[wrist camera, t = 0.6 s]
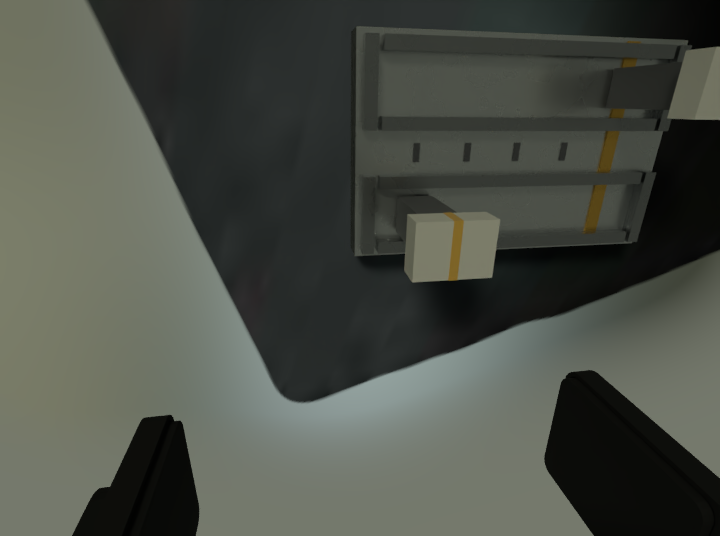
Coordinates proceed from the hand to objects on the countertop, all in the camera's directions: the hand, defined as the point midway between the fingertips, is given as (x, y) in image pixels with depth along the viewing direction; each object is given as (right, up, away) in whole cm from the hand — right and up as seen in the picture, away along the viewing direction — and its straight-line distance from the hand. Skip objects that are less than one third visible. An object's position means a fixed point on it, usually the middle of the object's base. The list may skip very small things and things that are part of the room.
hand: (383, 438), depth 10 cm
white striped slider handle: (+17, +16, +17) cm, 29 cm away
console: (+10, +13, +19) cm, 25 cm away
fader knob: (+3, +8, +18) cm, 20 cm away
